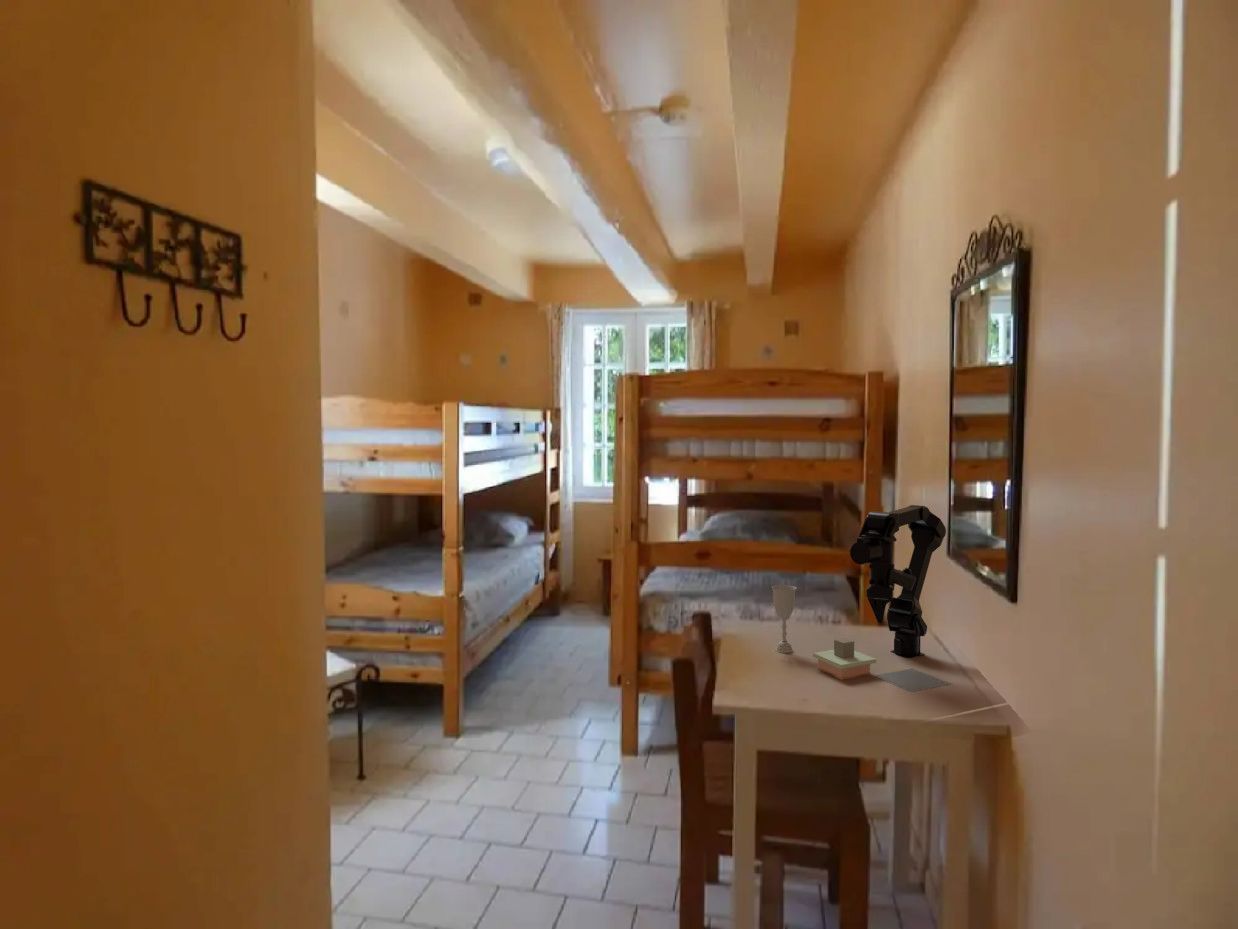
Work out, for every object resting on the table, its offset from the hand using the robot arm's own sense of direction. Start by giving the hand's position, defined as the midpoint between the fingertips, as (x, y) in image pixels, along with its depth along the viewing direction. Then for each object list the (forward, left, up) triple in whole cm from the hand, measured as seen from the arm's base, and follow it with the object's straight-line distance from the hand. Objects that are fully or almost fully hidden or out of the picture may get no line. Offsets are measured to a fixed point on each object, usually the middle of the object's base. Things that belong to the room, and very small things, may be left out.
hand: (881, 618), depth 200 cm
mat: (+2, +13, -12) cm, 18 cm away
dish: (+13, +1, -12) cm, 18 cm away
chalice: (+15, -22, -13) cm, 29 cm away
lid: (+13, +1, -9) cm, 16 cm away
